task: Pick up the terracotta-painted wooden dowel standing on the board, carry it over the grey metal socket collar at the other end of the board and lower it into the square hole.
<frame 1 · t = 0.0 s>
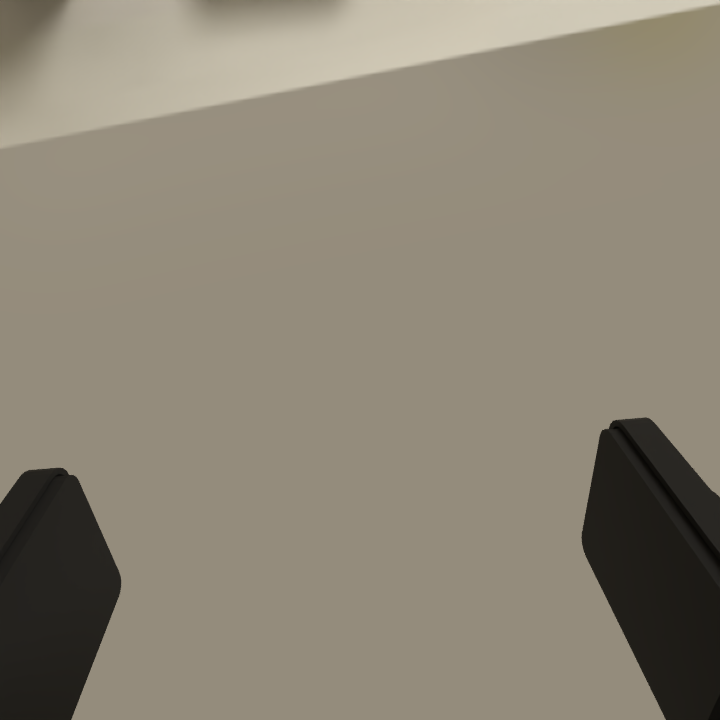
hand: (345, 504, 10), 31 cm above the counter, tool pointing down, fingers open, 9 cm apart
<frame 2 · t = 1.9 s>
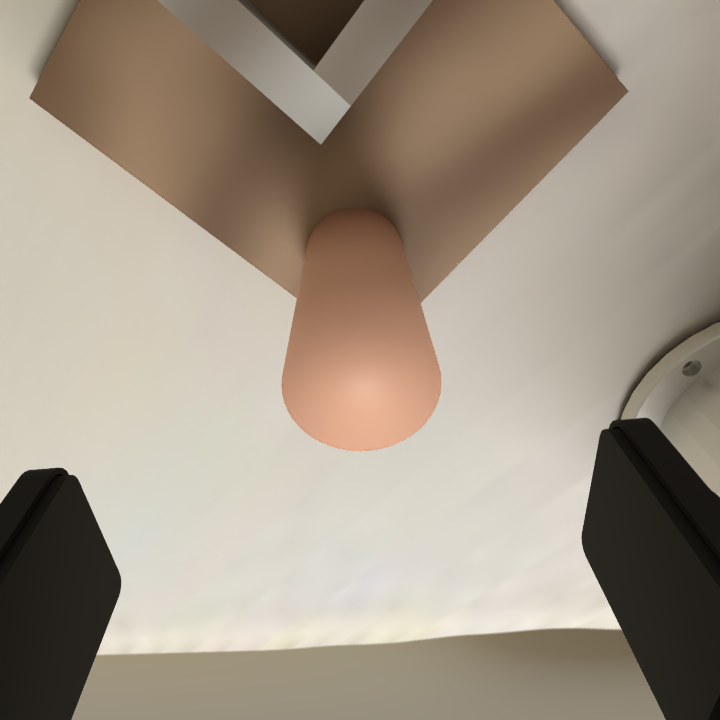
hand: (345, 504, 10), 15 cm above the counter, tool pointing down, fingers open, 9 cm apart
peg: (355, 256, 22), point 1 cm above the counter, touching socket board
socket board: (332, 92, 21), on the counter
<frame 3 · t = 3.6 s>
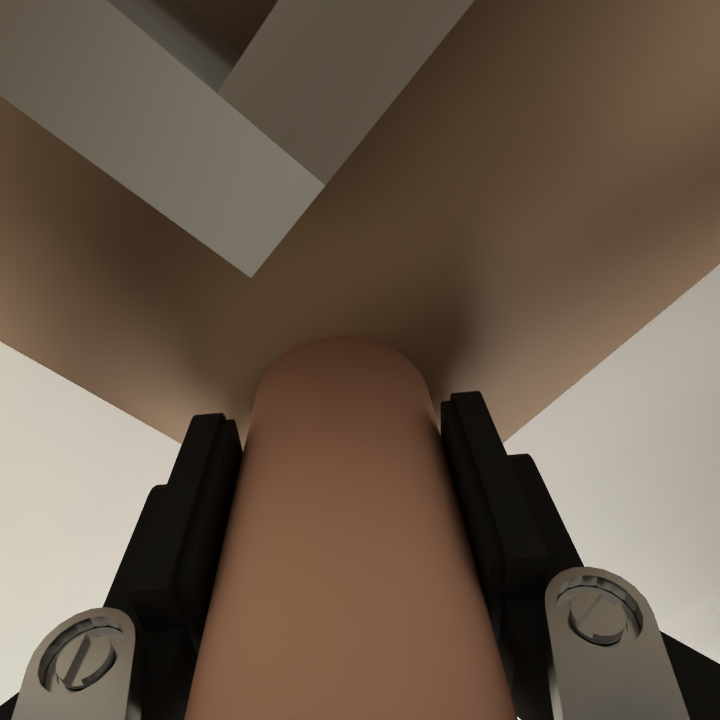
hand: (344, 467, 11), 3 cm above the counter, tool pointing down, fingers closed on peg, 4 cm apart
peg: (343, 413, 12), point 1 cm above the counter, touching gripper, socket board
socket board: (295, 122, 10), on the counter
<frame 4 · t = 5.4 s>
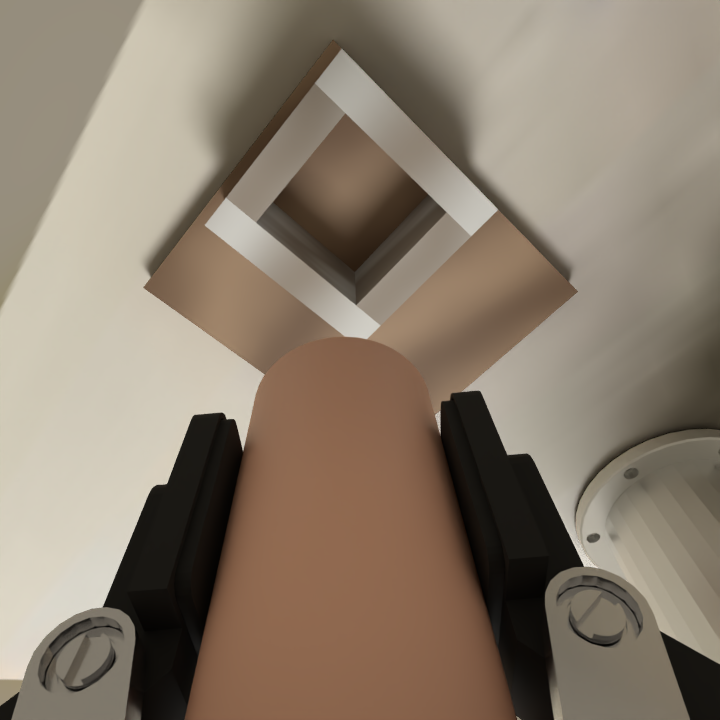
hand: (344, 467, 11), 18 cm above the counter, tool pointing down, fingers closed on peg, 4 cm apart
peg: (342, 414, 12), point 16 cm above the counter, touching gripper
socket board: (362, 280, 28), on the counter
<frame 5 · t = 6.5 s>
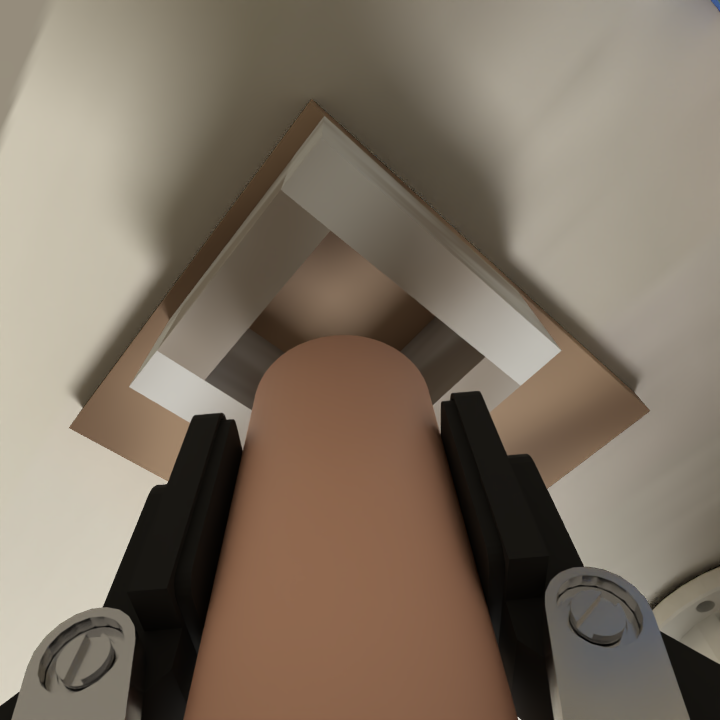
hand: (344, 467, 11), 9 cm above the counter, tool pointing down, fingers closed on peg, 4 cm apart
peg: (342, 413, 12), point 7 cm above the counter, touching gripper
socket board: (362, 400, 21), on the counter
when the fingers open (6 cm above the counter, at t = 7.4 s): peg drops 3 cm, resting on socket board.
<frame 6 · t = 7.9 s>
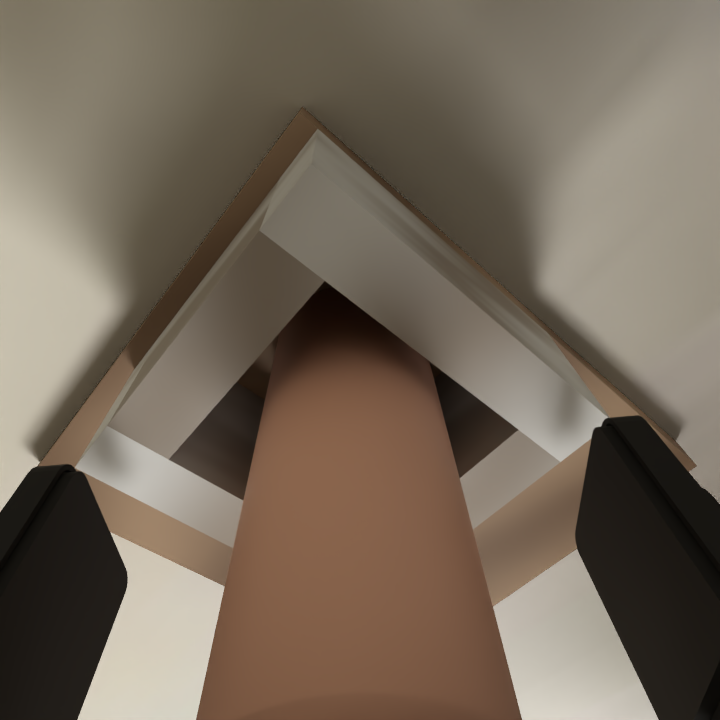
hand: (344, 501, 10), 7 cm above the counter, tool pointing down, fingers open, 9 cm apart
peg: (350, 353, 15), point 1 cm above the counter, touching socket board
socket board: (363, 452, 18), on the counter
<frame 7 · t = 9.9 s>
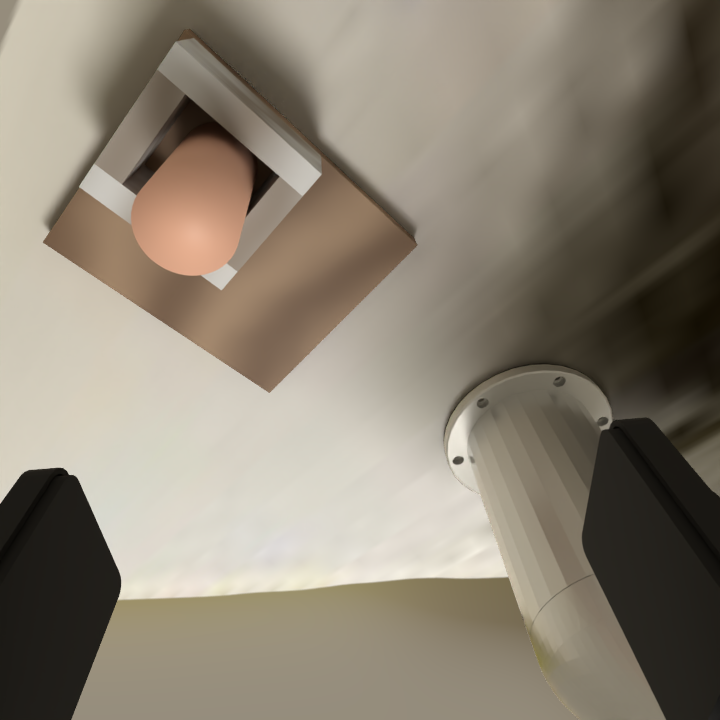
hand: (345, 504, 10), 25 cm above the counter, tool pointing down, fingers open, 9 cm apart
peg: (219, 162, 29), point 1 cm above the counter, touching socket board
socket board: (237, 236, 33), on the counter
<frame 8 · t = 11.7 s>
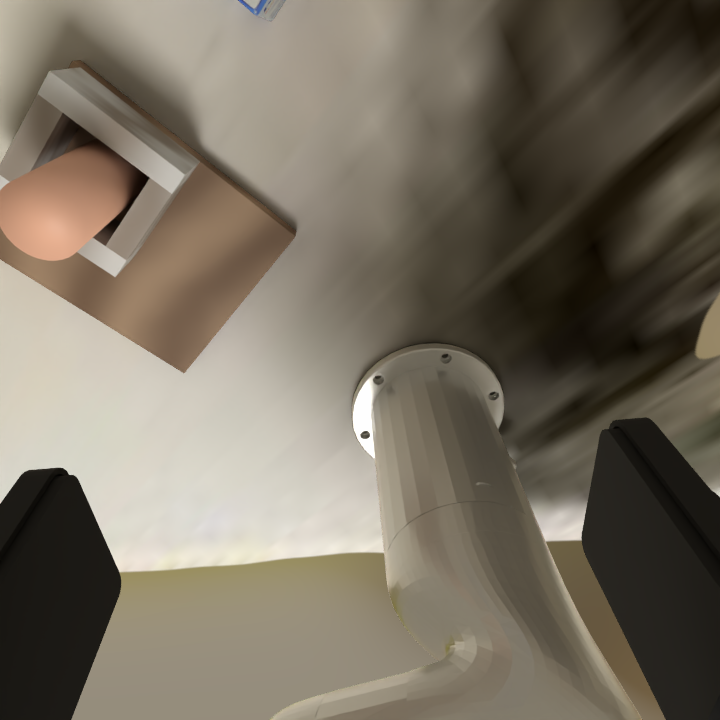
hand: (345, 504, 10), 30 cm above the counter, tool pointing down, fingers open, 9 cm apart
peg: (114, 170, 34), point 1 cm above the counter, touching socket board
socket board: (141, 234, 38), on the counter
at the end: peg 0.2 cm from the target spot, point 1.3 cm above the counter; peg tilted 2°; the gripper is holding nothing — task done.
